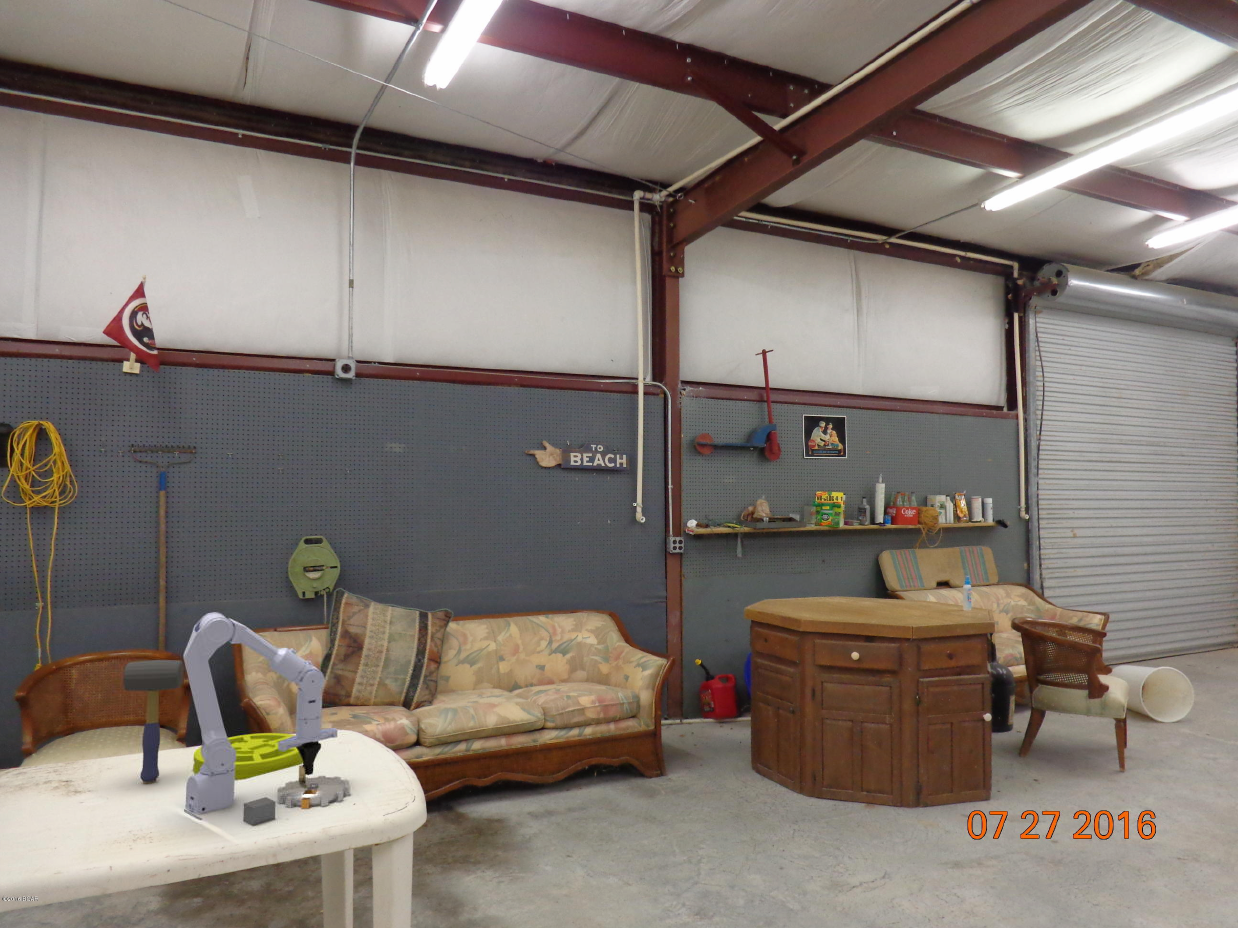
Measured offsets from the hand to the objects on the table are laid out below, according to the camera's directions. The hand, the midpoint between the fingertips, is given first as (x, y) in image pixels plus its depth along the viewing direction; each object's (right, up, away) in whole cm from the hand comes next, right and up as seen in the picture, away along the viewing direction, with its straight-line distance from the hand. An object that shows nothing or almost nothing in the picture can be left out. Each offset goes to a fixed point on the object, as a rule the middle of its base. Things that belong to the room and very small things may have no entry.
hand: (307, 773), depth 196 cm
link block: (-3, -4, -20) cm, 20 cm away
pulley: (-24, -6, +22) cm, 33 cm away
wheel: (+3, -3, -5) cm, 7 cm away
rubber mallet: (-41, -4, +6) cm, 42 cm away
